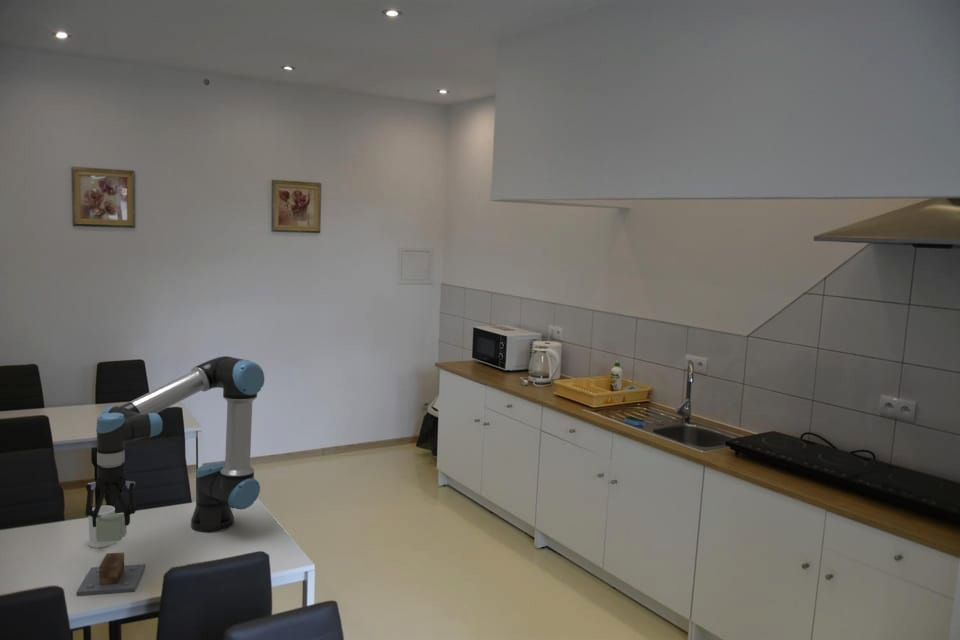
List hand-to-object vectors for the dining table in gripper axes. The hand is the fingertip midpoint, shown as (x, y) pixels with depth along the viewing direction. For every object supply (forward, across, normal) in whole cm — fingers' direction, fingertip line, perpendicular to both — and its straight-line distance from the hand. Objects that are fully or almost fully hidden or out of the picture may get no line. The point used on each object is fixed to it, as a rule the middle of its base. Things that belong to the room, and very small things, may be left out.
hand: (111, 535), depth 221 cm
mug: (+15, +10, -28) cm, 33 cm away
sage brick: (0, 0, 0) cm, 0 cm away
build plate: (+15, 0, 0) cm, 15 cm away
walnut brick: (+14, 0, 0) cm, 14 cm away
